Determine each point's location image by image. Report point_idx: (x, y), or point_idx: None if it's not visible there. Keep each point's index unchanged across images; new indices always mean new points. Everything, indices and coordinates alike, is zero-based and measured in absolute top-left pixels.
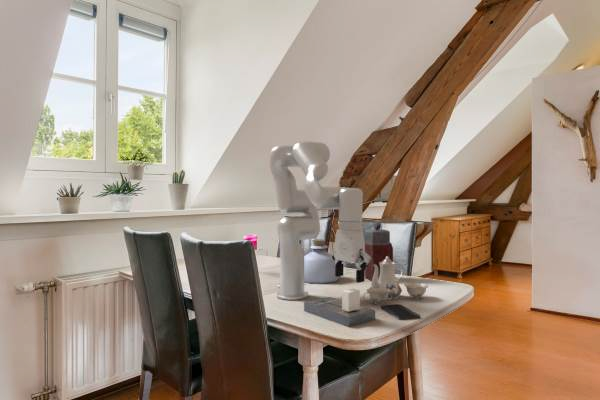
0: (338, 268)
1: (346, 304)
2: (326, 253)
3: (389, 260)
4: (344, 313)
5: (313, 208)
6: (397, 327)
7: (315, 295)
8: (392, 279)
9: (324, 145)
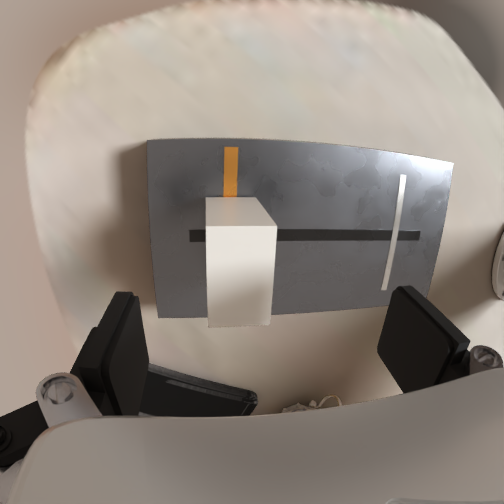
0: (424, 343)
1: (223, 204)
2: None
3: None
4: (207, 167)
5: None
6: (55, 289)
7: (482, 313)
8: None
9: None
